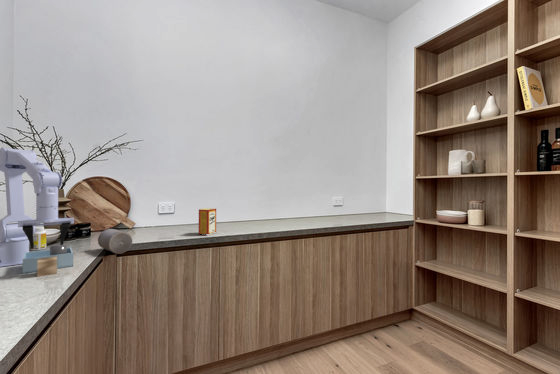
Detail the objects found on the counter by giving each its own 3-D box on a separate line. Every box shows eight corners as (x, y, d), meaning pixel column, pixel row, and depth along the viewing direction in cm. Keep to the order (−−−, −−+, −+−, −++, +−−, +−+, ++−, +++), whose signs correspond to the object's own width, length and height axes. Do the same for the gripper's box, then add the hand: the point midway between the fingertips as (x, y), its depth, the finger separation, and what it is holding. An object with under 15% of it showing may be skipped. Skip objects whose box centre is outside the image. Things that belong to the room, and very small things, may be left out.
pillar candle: (114, 251, 130) (128, 256, 121) (93, 245, 123) (106, 251, 114) (123, 231, 134) (137, 235, 124) (103, 225, 127) (116, 229, 117)
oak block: (37, 277, 90) (37, 262, 90) (37, 273, 94) (37, 258, 94) (56, 273, 93) (56, 259, 93) (56, 270, 97) (56, 256, 97)
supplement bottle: (46, 247, 130) (46, 226, 130) (46, 249, 126) (46, 227, 126) (30, 249, 126) (30, 227, 126) (30, 251, 122) (30, 229, 122)
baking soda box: (207, 232, 174) (207, 207, 174) (216, 233, 172) (216, 208, 172) (198, 235, 165) (198, 208, 165) (207, 235, 163) (208, 209, 163)
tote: (22, 273, 92) (22, 259, 92) (24, 265, 101) (24, 252, 101) (73, 266, 101) (73, 252, 101) (71, 259, 110) (71, 247, 110)
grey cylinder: (66, 264, 102) (66, 245, 102) (48, 266, 99) (48, 247, 99) (67, 260, 106) (67, 243, 106) (50, 262, 104) (50, 244, 103)
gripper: (17, 208, 85) (17, 251, 85) (74, 206, 95) (74, 245, 95) (18, 207, 91) (18, 247, 91) (73, 205, 100) (73, 241, 100)
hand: (47, 246), depth 93 cm, fingers open, 7 cm apart
